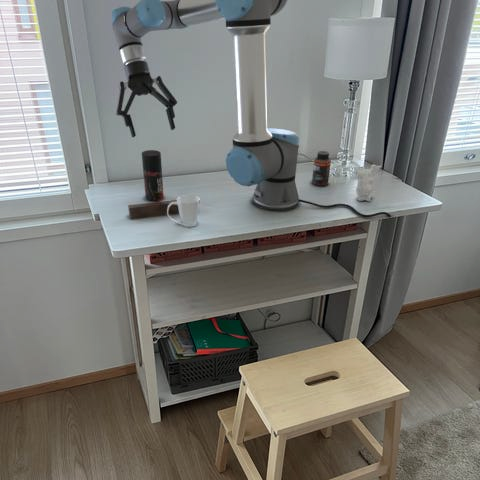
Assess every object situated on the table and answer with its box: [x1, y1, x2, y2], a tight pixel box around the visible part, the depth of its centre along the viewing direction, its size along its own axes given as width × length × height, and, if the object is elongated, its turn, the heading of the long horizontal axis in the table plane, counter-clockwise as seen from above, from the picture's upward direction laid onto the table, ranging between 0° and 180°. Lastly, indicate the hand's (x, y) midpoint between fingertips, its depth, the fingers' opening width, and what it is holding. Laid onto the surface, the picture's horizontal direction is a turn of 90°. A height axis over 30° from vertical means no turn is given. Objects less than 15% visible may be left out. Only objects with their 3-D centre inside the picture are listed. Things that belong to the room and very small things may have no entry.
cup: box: [166, 193, 201, 228], centre depth 145 cm, size 7×10×8 cm
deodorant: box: [141, 149, 164, 203], centre depth 158 cm, size 6×6×15 cm
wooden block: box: [127, 199, 179, 220], centre depth 152 cm, size 21×2×4 cm, turn 110°
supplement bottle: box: [311, 150, 332, 187], centre depth 175 cm, size 6×6×11 cm
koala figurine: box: [355, 164, 382, 202], centre depth 164 cm, size 8×7×12 cm
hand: (153, 132), depth 160 cm, fingers open, 13 cm apart
